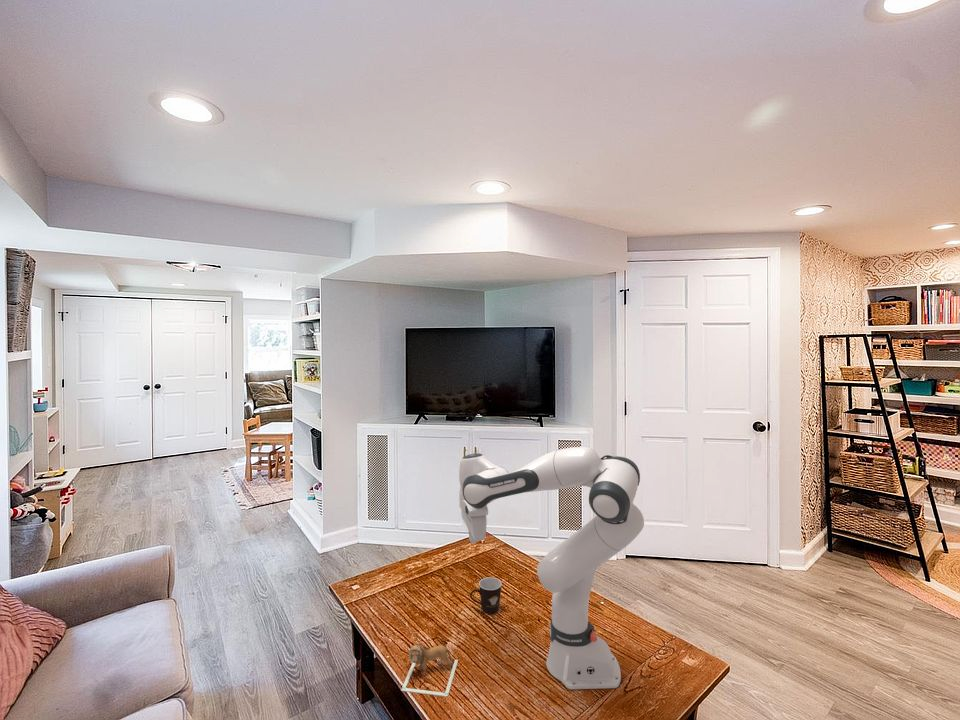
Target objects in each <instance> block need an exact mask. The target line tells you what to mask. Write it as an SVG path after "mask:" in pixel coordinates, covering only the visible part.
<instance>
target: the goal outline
mask: <svg viewBox="0 0 960 720" xmlns="http://www.w3.org/2000/svg"><path fill="white" fill-rule="evenodd" d="M458 662H459V659H454V662H453V665H452V667H451V668H452V669H451V672H450V675H449V679H448V682H447V686H446V689H445V691H444V692H442V691H433V690H426V689H425V690H424V689H417V688H409V687H407V686H408V684H409V681H410V678H411V676H412V673H413V671H414V669H415V666H416V665H417V664H416V663H413V662H412V663H411V666H410V668H409V670H408V673H407V675H406V677H405V679H404V682H403V684H402V687H401V689H400V691H401V692H407V693H414V694H423V695H431V696H437V697H449V693H450V690H451V686H452V683H453V679H454V676H455V673H456V672H455V671H456V669H457V665H458Z"/></svg>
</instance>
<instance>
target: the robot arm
mask: <svg viewBox="0 0 960 720" xmlns="http://www.w3.org/2000/svg"><path fill="white" fill-rule="evenodd" d="M458 472H459V475H458V481H459V484H460V488H459V491H458V492H459V498H458V500H459V508H460V509H461V514H460V515H461V518H462V520H463V522H464V523H465V525H466V528H467V530H468V540H469V541H470V543H471V544H477V542H478V541H484V540H485V539H486V537H487V536H486V535H487V520H488V519H487V516H488V515H489V508H488V505H489V504H490V503H492V502H493V501H495V500H498V499H501V498H505V497H510V496H515V495H518V494H523V493H533V492H541V491H542V492H543V491H554V490H563V489H571V488H573V487H574V488H575V487H579V486H582V487H587V488H590V490H589V493H588V504H589V507H590V508H591V510H592V512H593V513H594V514H595V516H594V517H592V519H591V520H589V521H588V522H587V523H586V524H585V525H584V526H582V527H581V528H580V529H578V530H577V531H575V532H574V533H573V534H571V535H570V536H568V537H567V538H566V539H564V541H562V542H561V543H560V544H558V545H556V546H555V547H554V548H553V549H551V550H550V551H549V552H548V553H547V554H546V555H544V557H543V558H541V560H540V561H539V562H538V564H537V568H536V573H537V574H536V575H537V578H538V580H539V582H540V584H541V585H542V586H543V588H544V589H545V590H546V591H548V592H550V593H552V596H551V618H550V623H549V639H550V644H549V650H548V655H547V658H546V663H545V664H546V668H547V670H548V672H549V674H551V676H553V677H554V678H555V679H556V680H558V681H560V683H562V684H563V685H564V686H565V687H566V689H568V690H591V689H593V690H594V689H596V690H597V689H617V688H618V687H619V686H620V684H621V682H622V681H621V680H622V676H621V675H622V674H621V667H620V664H619V661H618V660H617V658H616V656H615V655H614V654H613V653H612V652H611V649H610V647H609V645H608V643H607V642H606V640H604V639H603V638H601V637H600V636H598V635H597V633H596V632H595V626H594V623H593V621H592V620H590V622H589V603H590V602H589V600H590V595H591V591H592V587H593V583H594V578H595V574H596V571H597V569H598V568H599V567H600V566H601V565H603V564H605V563H606V562H607V561H608V560H610V559H612V558H613V557H614V556H616V555H617V554H618V553H620V552H622V550H624V549H625V548H626V547H628V546H629V545H630V544H631V543H632V542H633V541H634V540H635V539H636V537H638V536H639V534H640V533H641V532H642V531H643V529H644V526H645V519H644V516H643V514H642V512H641V510H640V509H639V508H638V507H637V505H635V504H634V503H633V502H634V501H635V498H636V495H637V491H638V487H639V485H640V481H641V473H640V469H639V467H638V466H637V464H636V463H635V462H634V461H633V460H631V459H629V458H627V457H624V456H613V455H608V454H606V455H603V456H601V458H600V455H599V454H598V453H597V451H596V450H595V449H593V448H592V447H589V446H574V447H572V446H571V447H566V448H560V449H556V450H553V451H550V452H548V453H546V454H542V455H541V456H539V457H537V458H536V459H534V460H532V461H530V462H529V463H527V464H526V465H524V466H522V467H520V468H519V469H516V470H514V471H511V472H508V470H507V469H506V468H505V467H502V466H498V465H496V464H495V463H493V462H491V461H489V460H488V459H487V458H486V457H485V455H484V454H482V453H479V452H478V453H477V452H476V453H470V454H467V455H465V456H463V457H462V458H461V460H460V464H459V471H458Z"/></svg>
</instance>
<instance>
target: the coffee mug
mask: <svg viewBox="0 0 960 720" xmlns="http://www.w3.org/2000/svg"><path fill="white" fill-rule="evenodd" d="M475 592H478V594H479V595H480V601H479V600H476V599H474V597H472V595H473V593H475ZM501 592H502V581H501V580H500V579H499V578H496V577H493V576H492V577H491V576H490V577H489V576H488V577H484V578H482V579H480V580H479V582H478V589H473V590H471V592H470V594H469V597H470V599H471V600H472V601H473V602H474V603H477V604H479V605H480V606H481V611H482V612H483V613H484V614H486V615H494V614H497V613H498V612H499V609H500V604H501V603H500V602H501V601H500V600H501V594H502V593H501Z"/></svg>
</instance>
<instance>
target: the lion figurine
mask: <svg viewBox="0 0 960 720" xmlns="http://www.w3.org/2000/svg"><path fill="white" fill-rule="evenodd" d="M438 658H440V660H438V661H437V664H438V665H441V664H442V663H446V664H447V666H446V669H447V670H450V669H451V668H452V663H451V662H453V663H454V661H455V658H454V659H452V655H451V653H450V650H449V649H448V647H446V646H445V645H441V644H438V645H437V646H433V647H428V646H426V645H422V644H414V645H412V646H410V648H409V651H408V659H409V661H410V662H412V663H416V664H415V665H417V669H418V670H422V671H421V675H423V676H425V674H426V673H427V664H428V662H432V661H436V660H437V659H438ZM418 665H419V666H418Z"/></svg>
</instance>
